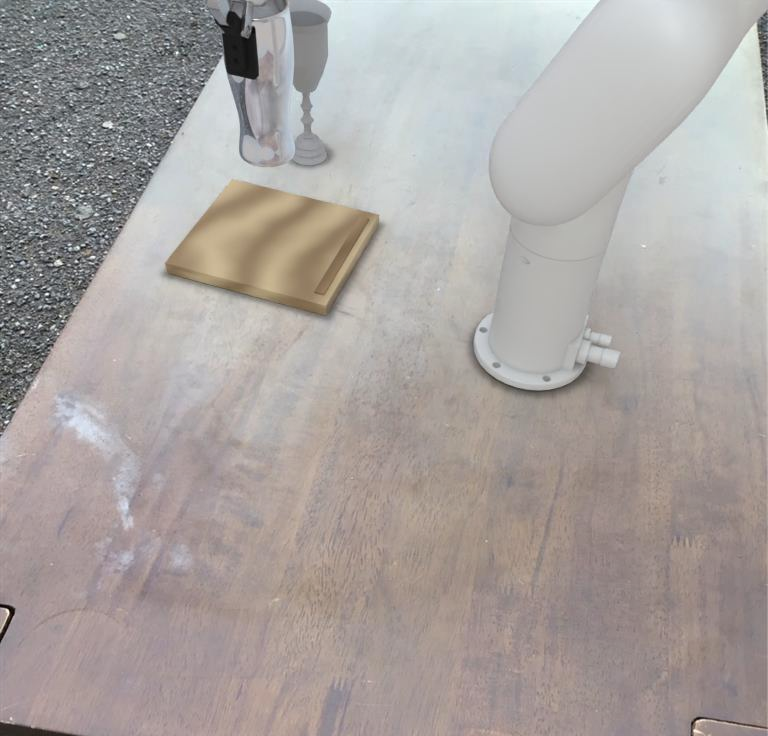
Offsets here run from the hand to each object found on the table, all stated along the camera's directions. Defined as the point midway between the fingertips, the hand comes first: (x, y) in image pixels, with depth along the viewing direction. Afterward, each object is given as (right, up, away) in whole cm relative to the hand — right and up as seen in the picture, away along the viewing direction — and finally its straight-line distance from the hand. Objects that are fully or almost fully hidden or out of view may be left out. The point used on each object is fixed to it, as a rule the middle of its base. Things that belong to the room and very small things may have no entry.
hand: (259, 55), depth 80 cm
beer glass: (0, -6, +8) cm, 10 cm away
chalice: (+2, +3, +30) cm, 31 cm away
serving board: (-1, -13, +19) cm, 23 cm away
